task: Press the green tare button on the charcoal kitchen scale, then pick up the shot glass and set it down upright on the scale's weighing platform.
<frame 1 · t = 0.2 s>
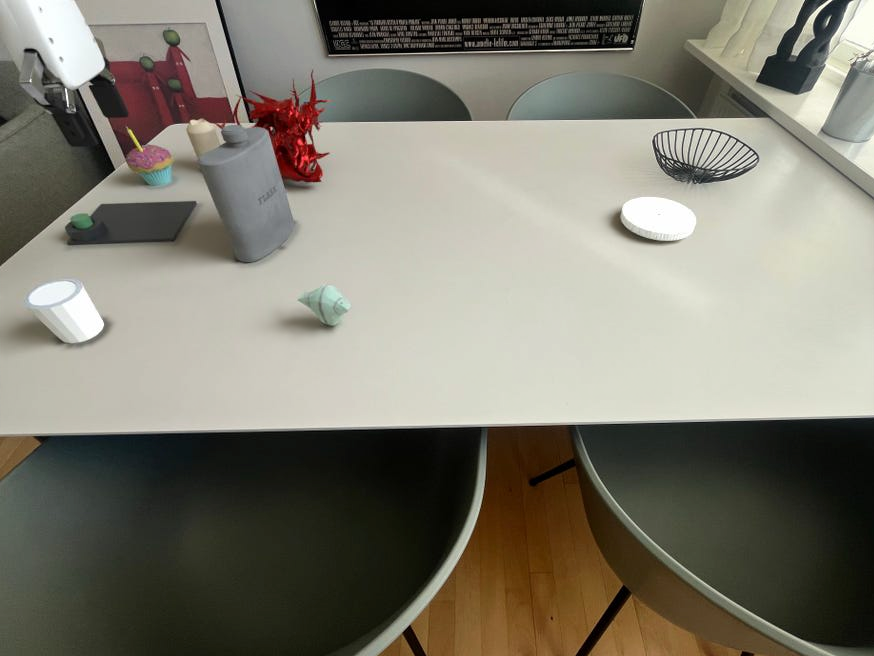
hand: (102, 130, 63), 24 cm above the table, tool pointing down, fingers open, 9 cm apart
plastic lid: (654, 226, 95), on the table
scale: (137, 223, 92), on the table
flask: (269, 241, 88), on the table
tare button: (81, 221, 86), point 3 cm above the table, slide at 0.1 cm
mint green pointed part: (333, 324, 73), on the table
shot glass: (83, 331, 71), on the table
sculptural form: (296, 167, 110), on the table
cupcake: (159, 181, 104), on the table
candle: (215, 168, 109), on the table
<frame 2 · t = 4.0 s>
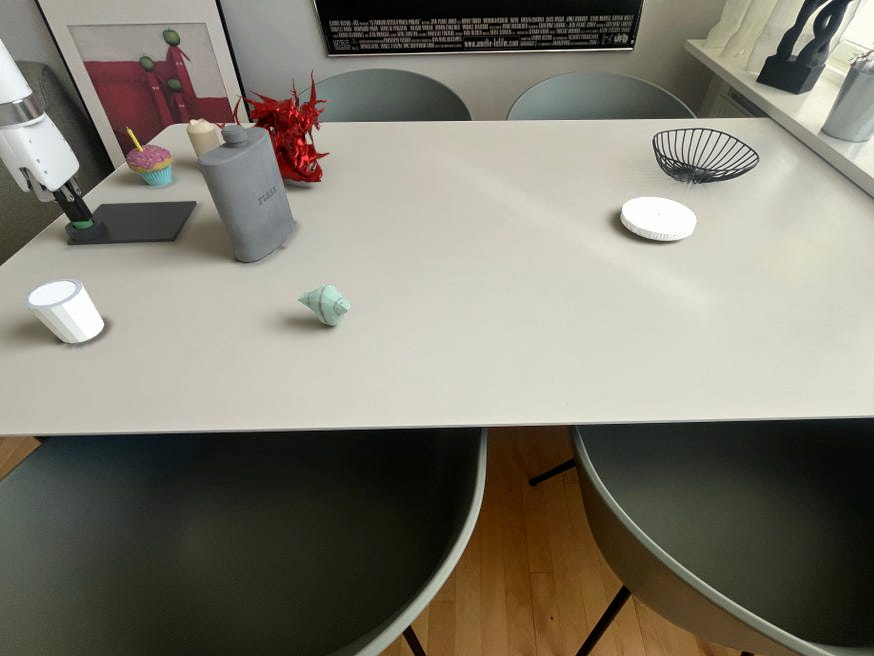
hand: (82, 219, 86), 3 cm above the table, tool pointing down, fingers closed
tare button: (83, 224, 86), point 2 cm above the table, slide at -0.4 cm, touching gripper
everything else where it was.
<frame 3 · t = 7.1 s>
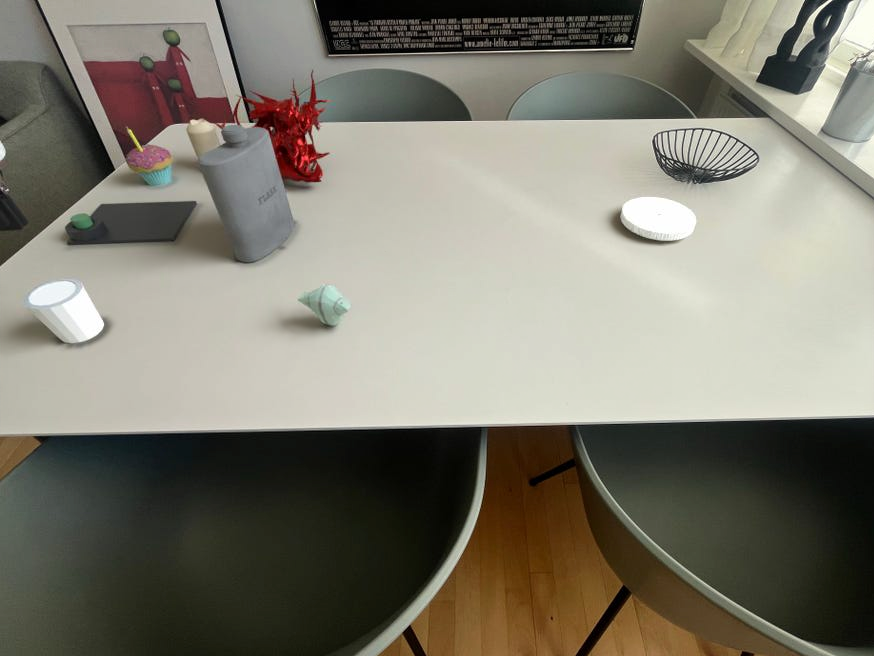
hand: (13, 227, 62), 15 cm above the table, tool pointing down, fingers closed
tare button: (81, 221, 86), point 3 cm above the table, slide at 0.1 cm
everything else where it was.
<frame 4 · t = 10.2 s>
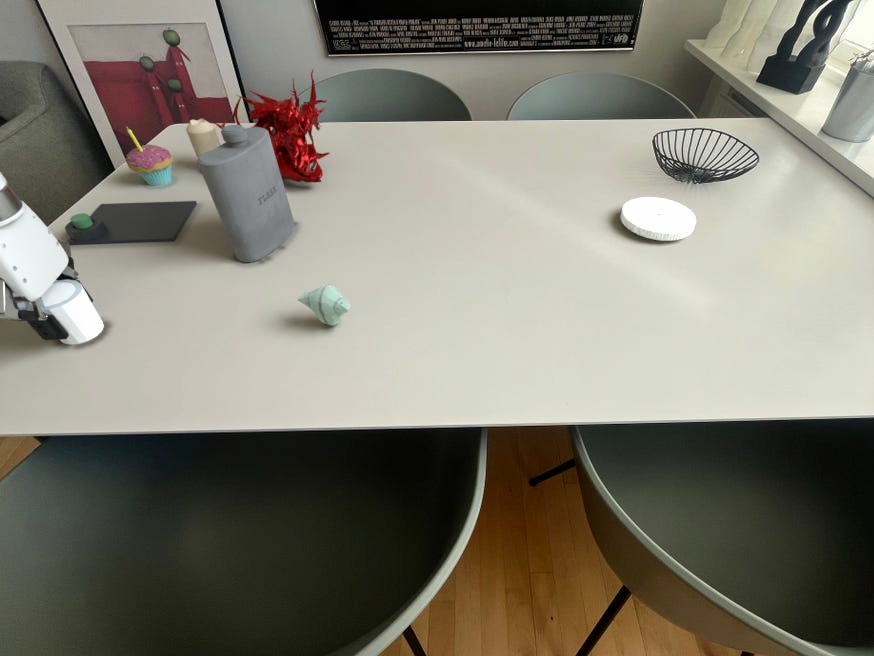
hand: (69, 319, 69), 2 cm above the table, tool pointing down, fingers closed on shot glass, 6 cm apart
shot glass: (82, 332, 71), on the table, touching gripper
everything else where it was.
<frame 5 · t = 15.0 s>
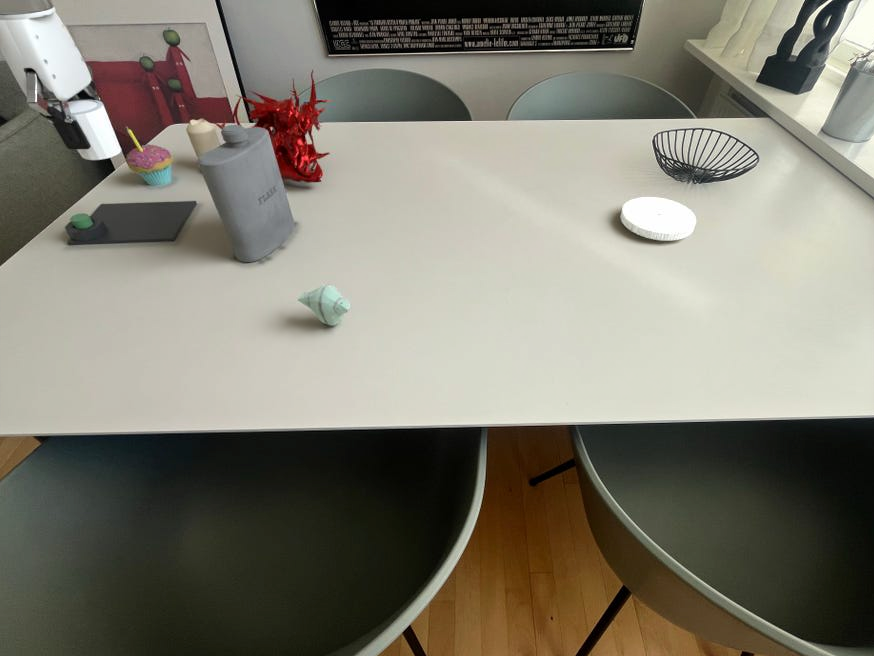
hand: (90, 137, 76), 18 cm above the table, tool pointing down, fingers closed on shot glass, 6 cm apart
shot glass: (102, 153, 78), point 15 cm above the table, touching gripper
everything else where it was.
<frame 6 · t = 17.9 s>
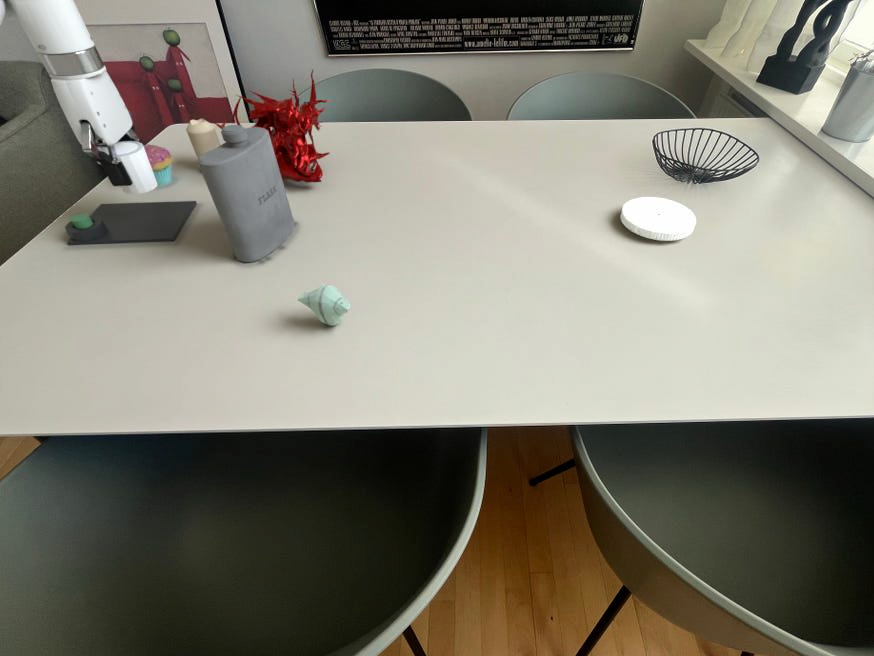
hand: (131, 174, 86), 9 cm above the table, tool pointing down, fingers closed on shot glass, 6 cm apart
shot glass: (141, 187, 88), point 7 cm above the table, touching gripper
everything else where it was.
when the fingers open (3 cm above the table, at t = 20.2 s): shot glass stays where it is, resting on scale.
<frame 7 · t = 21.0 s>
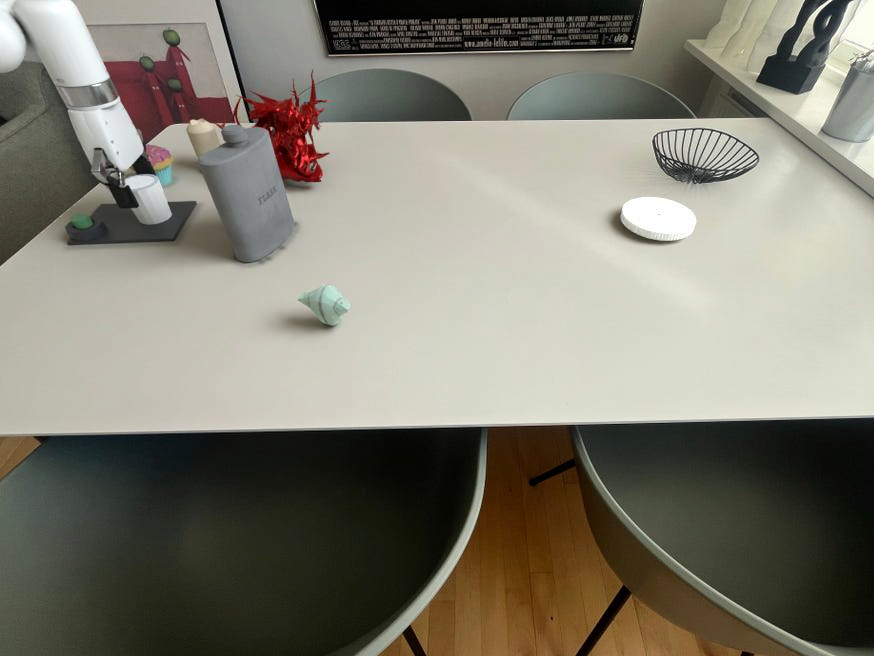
hand: (140, 194, 89), 5 cm above the table, tool pointing down, fingers open, 9 cm apart
shot glass: (156, 217, 92), point 1 cm above the table, touching scale
everything else where it was.
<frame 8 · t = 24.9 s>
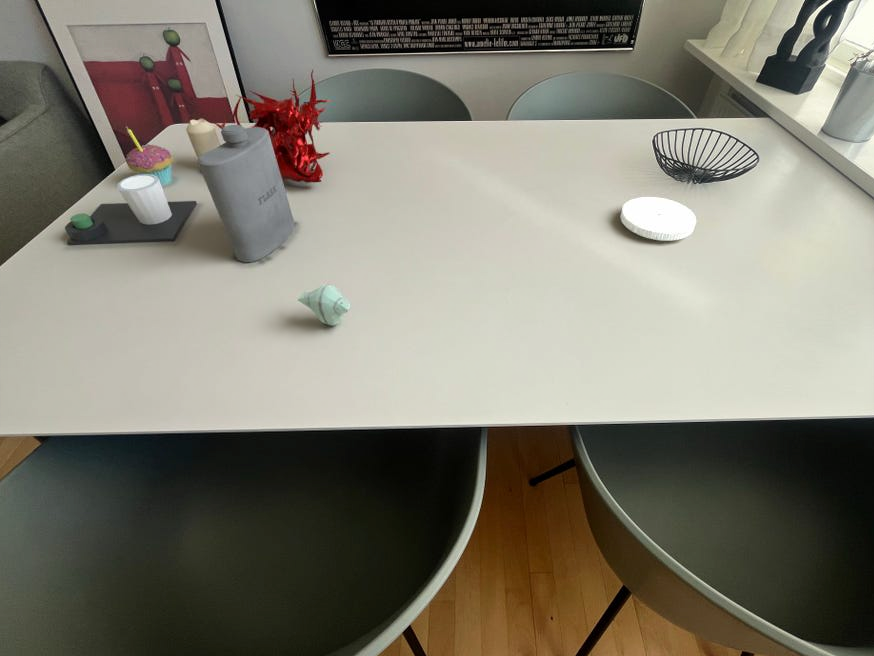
nothing on the table moved.
at the end: tare button pushed in 1.1 cm at the most during the clip, back to where it started at the end; shot glass inside the target area on the scale (0.1 cm from its centre), point 0.5 cm above the scale's base; shot glass touching scale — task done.
